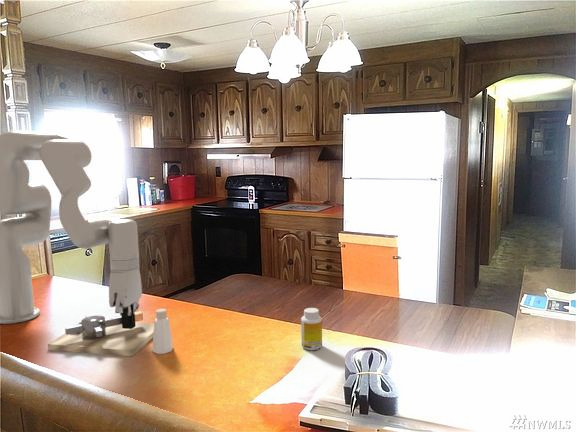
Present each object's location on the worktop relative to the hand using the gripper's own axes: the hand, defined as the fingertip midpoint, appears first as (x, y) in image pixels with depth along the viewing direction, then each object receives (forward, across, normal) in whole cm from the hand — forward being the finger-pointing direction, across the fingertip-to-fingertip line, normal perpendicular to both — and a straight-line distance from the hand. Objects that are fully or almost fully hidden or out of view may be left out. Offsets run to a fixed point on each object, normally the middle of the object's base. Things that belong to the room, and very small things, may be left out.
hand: (129, 327), depth 126 cm
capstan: (+1, +2, -6) cm, 6 cm away
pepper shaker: (+3, +6, +13) cm, 14 cm away
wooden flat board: (+3, +2, -5) cm, 6 cm away
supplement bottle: (+4, -3, +52) cm, 52 cm away
